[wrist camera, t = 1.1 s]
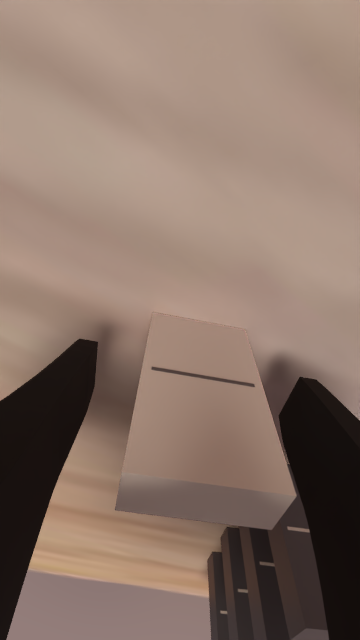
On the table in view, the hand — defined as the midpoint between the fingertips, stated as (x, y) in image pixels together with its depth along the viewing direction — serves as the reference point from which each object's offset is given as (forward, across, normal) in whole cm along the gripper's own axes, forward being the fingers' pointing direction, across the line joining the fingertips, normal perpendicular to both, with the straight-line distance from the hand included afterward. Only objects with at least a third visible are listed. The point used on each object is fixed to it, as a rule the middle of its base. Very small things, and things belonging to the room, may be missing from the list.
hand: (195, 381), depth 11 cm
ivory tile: (+3, 0, 0) cm, 3 cm away
